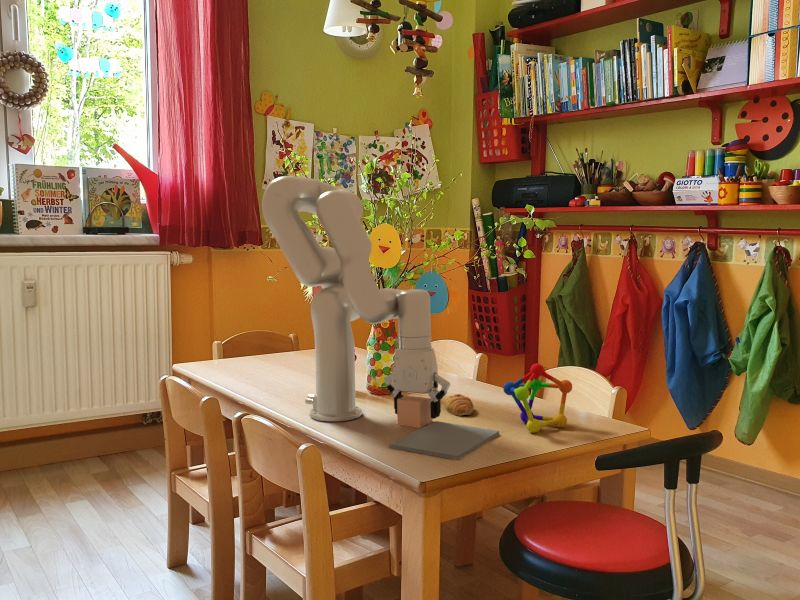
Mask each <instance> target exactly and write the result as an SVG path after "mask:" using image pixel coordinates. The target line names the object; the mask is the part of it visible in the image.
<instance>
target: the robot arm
mask: <svg viewBox="0 0 800 600" xmlns="http://www.w3.org/2000/svg"><path fill="white" fill-rule="evenodd" d="M261 210H262V215H263V219H264V221H265V223H266V225H267V227H268V229H269V231H270V232H271V234H272V236H273V237H274V239H275V241H276V243H277V244H278V246H279V248H280V250H281V252H282V253H283V255H284V257H285V258H286V260H287V262H288V264H289V266H290V268H291V269H292V271H293V273H294V275H295V276H296V278H297V280H298V281H299V282H300V283H301V284H302V285H304V286H305V287H310V288H311V287H314V288H315V287H320V286H321V288H322V289H321V290H319V291H317V293H316V294H315V295H314V296H313V298H312V300H311V304H310V316H311V323H312V328H313V335H314V350H315V351H314V355H315V356H314V358H315V394H311V393H310V394H307V397H306V398H305V400H304V402H305V404H306V405H312V409H311V410H310V413H309V414H310V418H312V419H314V420H316V421H321V422H347V421H351V420H355V419H358V418H360V417H362V414H363V409H362V408H361V407H360V406H357V405H356V366H355V365H356V361H355V359H356V358H355V352H356V350H355V338H354V337H355V335H354V332H353V328H352V324H351V322H354V321H357V320H359V319H360V318H361V319H362V320H363V321H364V322H366V323H367V324H371V325H377V324H381V323H384V322H387V321H391V320H393V319H398V321H397V323H398V336H395V338H394V342H395V343H398V347H396V349H395V351H394V352H395V353H394V358H393V368H392V369H393V370H392V373H390V374H389V375H385V376H384V377H383V380H384V383H385V386H386V388H387V390H388V392H389V393H390V394H391V397H392V398H393V408H394V414H395V415H397V399H399V398H402V397H404V394H403V393H410V394H420V395H421V394H422V395H426V394H427V395H428V396H429V397H431V399H432V402H431V403H430V408H431V418H432V420H433V419H436V418H438V417H440V416H441V412H442V411H441V406H442V405H441V404H442V403H441V400H443V399H444V396H446V394H448V390H449V389H450V387H451V382H450V381H448V380H447V379H445V378H444V377H442V376H441V375H440V374H439V371H438V364H437V363H438V362H437V357H436V353H435V349H434V348H432V326H431V325H432V320H431V319H432V318H431V314H432V313H431V295H430V293H429V291H428V290H425V289H415V288H414V289H413V288H412V289H405V290H404V289H399V288H398V289H397V288H391V287H387V288H379V287H378V285H377V283H376V281H375V279H374V276H373V274H372V272H371V267H370V256H371V254H372V249H373V243H372V241H371V239H370V237H369V235H368V233H367V231H366V229H365V227H364V226H363V224H362V222H361V219H362V217H363V214H364V205H363V202H362V200H361V199H360V197H359V196H358V195H357V194H356V193H354V192H352V191H350V190H347V189H344V188H340V187H337V186H335V185H332V184H330V183H326V182H323V181H321V180H318V179H316V178H312V177H304V176H297V175H283V176H278V177H277V178H274V179H273V180H272V181H271V182H270V183H269V184H268V185H267V187H266V188H265V190H264V192H263V196H262V201H261ZM298 212H302V213H303V212H305V213H310V214H312V215H316V216H317V218H318V220H319V222H320V224H321V226H322V228H323V229H324V230H323V231H325V233H326V235H327V237H328V239H329V241H330V244H331V245H332V247H331V246H321V245H320V243H319V241H318V240H317V239H316V237H315V236H314V234H313V232H312V230H311V228H310V227H309V225H308V224H307V223H306V222H305V220H303V218H302V217H301V216H300V214H299V213H298ZM439 385H440V386H441V388H440V390H439V389H438V387H439Z"/></svg>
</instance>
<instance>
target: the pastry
mask: <svg viewBox="0 0 800 600" xmlns="http://www.w3.org/2000/svg"><path fill="white" fill-rule="evenodd" d="M444 408H445V410H446V412H448V413H450V414H452V415H453V416H459V417H461V416H465V415H467V416H471V415H472V413H473V411H474V403H473V401H472V400H471V398H469V397H468V396H465V395H463V394H460V393H455V394H453V395H449V397H448V398H447V399H446V401H445V404H444Z"/></svg>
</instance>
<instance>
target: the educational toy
mask: <svg viewBox="0 0 800 600" xmlns="http://www.w3.org/2000/svg"><path fill="white" fill-rule="evenodd" d="M529 370H530V371H529V372H528V373H527V374H525V375H524V376H522V377H520V379H518V380H517V381H515V382H513V381H507V382H506V383H504V384H503V388H502V390H503V392H504V393H505V395H507V396H511V397H512V399H513V400H514V401H515V403H516V405H517V406H518V408H519V410H520V411H521V412H520V419H521V421H522V422H523V423H525V424H526V429H527V430H528V432H529V433H531V434H536V433H538V432H539V431H540V430H541V428H542V427H546V426H552V425H554V426H555V427H557V428H561V429H562V428H564V427H566V425H567V424H568V418H567V416H566V415H565V414H564V413H565V406H566V401H567V394H569V393H570V392H572V390H573V383H572V382H571V381H570V380H568V379H563V380H560V379H558V378H556V377H554V376H553V375H550V374H549V373H547V372H545V368H544V366H543V365H542V364H540V363H534V364H532V365H531V366H530V369H529ZM540 377H544V378H545V379H547V380H549V381H551V383H550V382H542V379H540ZM525 382H526V383H525ZM543 388H548V389H549V388H551V389H558V390H559V391H560V392H561V393H562V394H561V397H560V406H559V411H558V412H559V413H557V414H556V415H554V416H553V417H552V416H543V415H536V414H534V413H533V411H532V409H533V404H534V401H535V398H536V393H537V392H538V391H541V390H542V389H543ZM529 389H531V392H530V391H529ZM528 399H529V400H528Z"/></svg>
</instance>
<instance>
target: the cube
mask: <svg viewBox="0 0 800 600" xmlns="http://www.w3.org/2000/svg"><path fill="white" fill-rule="evenodd" d="M403 396H404V395H403ZM431 402H432V399H431V397H430V396H429V395H428V396H427V395H423V394H422V395H421V394H420V395H419V394H415V393H410V394H407V395H405V396H404V397H402V398H399V399H397V414H396V415H397V418H396V419H397V421H396V423H397V425H402V426H408V427H413V428H419V429H421V428H423V427H425V426H427V425H429V424H431V423H433V419H432V418H431V408H430V403H431Z"/></svg>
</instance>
